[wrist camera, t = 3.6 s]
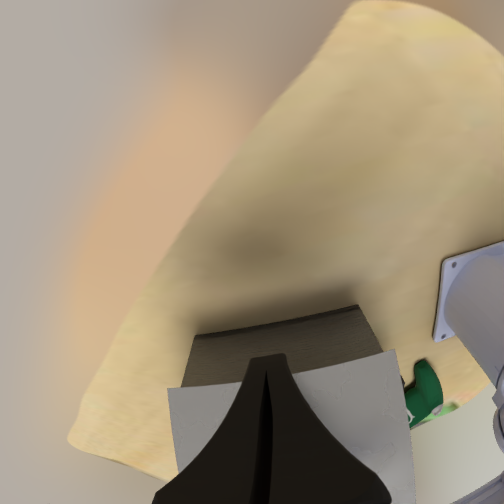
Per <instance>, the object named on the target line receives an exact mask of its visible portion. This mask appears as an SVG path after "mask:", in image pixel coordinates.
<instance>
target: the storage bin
mask: <svg viewBox="0 0 504 504" xmlns="http://www.w3.org/2000/svg"><path fill="white" fill-rule="evenodd" d="M279 353H284V354H286V358H287V363H288V366H289V369H290V371H291V374H295V373H300V372H305V371H310V370H315V369H320V368H324V367H329V366H333V365H337V364H342V363H346V362H350V361H354V360H357V359H361V358H365V357H369V356H372V355H376V354H379V353H383V350H382V348H381V346H380V344H379V342H378V340H377V339H376V337H375V335H374V333H373V331H372V329H371V327H370V325H369V323H368V322H367V320H366V318H365V316H364V314H363V312H362V311H361V309H360V307H359V305H354V306H350V307H346V308H341V309H337V310H333V311H328V312H324V313H319V314H315V315H310V316H305V317H301V318H296V319H291V320H286V321H281V322H275V323H270V324H265V325H259V326H253V327H248V328H242V329H236V330H229V331H223V332H216V333H210V334H203V335H195V337H194V340H193V344H192V348H191V351H190V355H189V359H188V362H187V366H186V370H185V374H184V377H183V381H182V385H181V388H183V387H197V386H209V385H219V384H229V383H237V382H242V381H243V378H244V376H245V373H246V370H247V367H248V364H249V360H250V359H251V358H255V357H261V356H267V355H273V354H279ZM400 376H401V375H400ZM401 381H402V386H403V389H404V384H405V382H404V380H403V378H402V376H401Z"/></svg>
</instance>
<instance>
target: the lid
mask: <svg viewBox="0 0 504 504" xmlns="http://www.w3.org/2000/svg"><path fill="white" fill-rule="evenodd" d="M292 376H293V378H294V380H295V382H296V384H297V386H298V388H299V389H300V391H301V393H302V395H303V396H304V398H305V400H306V401H307V403H308V404H309V406H310V407H311V409H312V410H313V411H314V413H315V414H316V416H317V417H318V418H319V419H320V421H321V422H322V423H323V424H324V426H325V427H326V428H327V429H328V430H329V431H330V433H331V434H332V435H333V436H334V437H335V438H336V439H337V440H338V441H339V442H340V443H341V444H342V445H343V446H344V447H345V448H346V449H347V450H348V451H349V452H350V453H351V454H353V455H354V456H355V457H356V458H357V459H358V460H359V461H361V462H362V463H363V464H364V465H366V466H367V467H368V468H370V469H371V470H372V471H374V472H375V473H376V474H377V475H378V476H379V478H380V479H381V480H382V482H383V483H384V484H385V486H386V487H387V489H388V491H389V493H390V495H391V497H392V503H391V504H416V497H415V496H416V494H415V476H414V464H413V453H412V445H411V436H410V428H409V421H408V415H407V408H406V402H405V397H404V391H403V386H402V381H401V376H400V371H399V366H398V361H397V357H396V353H395V349H392V350H389V351H386V352H383V353H379V354H376V355H372V356H369V357H365V358H361V359H357V360H354V361H350V362H346V363H342V364H337V365H333V366H329V367H324V368H320V369H315V370H310V371H305V372H300V373H295V374H292ZM241 383H242V382H237V383H229V384H219V385H209V386H197V387H183V388H167V390H168V400H169V409H170V418H171V426H172V434H173V441H174V448H175V454H176V460H177V466H178V472H179V473H180V472H181V471H182V470H183V469H184V468H185V467H186V466H187V465H188V464H189V463H190V462H191V461H192V460H193V459H194V458H195V457H196V456H197V455H198V454H199V453H200V452H201V450H202V449H203V448H204V447H205V445H206V444H207V443H208V441H209V440H210V439H211V438H212V436H213V435H214V433H215V432H216V430H217V429H218V427H219V426H220V424H221V423H222V421H223V419H224V418H225V416H226V414H227V412H228V410H229V409H230V407H231V405H232V403H233V401H234V399H235V397H236V395H237V392H238V390H239V388H240V386H241Z"/></svg>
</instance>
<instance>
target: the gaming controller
mask: <svg viewBox="0 0 504 504" xmlns="http://www.w3.org/2000/svg"><path fill="white" fill-rule="evenodd" d="M414 372H415V379H416V386H415V387H413V388H411V389H409V390H408V391H407V392H406V393H405V394H404V397H405V402H406V408H407V415H408V421H409V428H411V427H412V426H414V425H416V424H417V423H418V422H420V421H421V420H423V419H424V418H425V417H427V416H428V415H429V414H430V413H431V412H432V413H433V414H434V415H435V416H436V415H438V414H439V413H440V412H441V410H442V408H443V392H442V388H441V384H440V381H439V379H438V377H437V375H436V373H435V372H434V370H433V369H432V368H431V366H430V365H429V364H428V363H427V362H426V361H424V360H423V361H420V362H419V363H418V364H417V365H416V366H414Z"/></svg>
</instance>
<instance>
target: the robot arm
mask: <svg viewBox="0 0 504 504" xmlns="http://www.w3.org/2000/svg"><path fill="white" fill-rule="evenodd" d="M453 262H454V264H453V265H452V263H453ZM455 335H456V336H457V337H458V338H459V339H460V341H461V342H462V343H463V344H464V346H465V347H466V348H467V349H468V351H469V352H470V353H471V355H472V356H473V357H474V359H475V360H476V361H477V363H478V364H479V365H480V367H481V368H482V369H483V371H484V372H485V373H486V375H487V376H488V378H489V379H490V380H491V382H492V383H493V385H494V386H495V388H496V389H497V390H496V393H495V394H494V396H493V397H492V399H493V401H494V403H495V404H496V406H497V410H496V411H495V414H494V419H493V429H494V434H495V438H496V440H497V443H498V445H499V447H500V449H501V450H502V452H503V453H504V241H502V242H499V243H496V244H493V245H490V246H487V247H483V248H480V249H477V250H474V251H471V252H467V253H464V254H461V255H457V256H454V257H450V258H447V259H445V260H444V262H443V263H442V272H441V283H440V293H439V301H438V309H437V316H436V322H435V328H434V334H433V340H434V341H435V342H440V341H442V340H445V339H447V338H450V337H452V336H455ZM391 503H392V497H391V495H390V493H389V491H388V489H387V487H386V486H385V484H384V483H383V482H382V480H381V479H380V478H379V476H378V475H377V474H376V473H375V472H374V471H372V470H371V469H370V468H368V467H367V466H366V465H364V464H363V463H362V462H361V461H359V460H358V459H357V458H356V457H355V456H354V455H353V454H351V453H350V452H349V451H348V450H347V449H346V448H345V447H344V446H343V445H342V444H341V443H340V442H339V441H338V440H337V439H336V438H335V437H334V436H333V435H332V434H331V433H330V431H329V430H328V429H327V428H326V427H325V426H324V424H323V423H322V422H321V421H320V419H319V418H318V417H317V416H316V414H315V413H314V411H313V410H312V409H311V407H310V406H309V404H308V403H307V401H306V400H305V398H304V396H303V395H302V393H301V391H300V389H299V388H298V386H297V384H296V382H295V380H294V378H293V376H292V374H291V371H290V369H289V366H288V363H287V358H286V354H284V353H279V354H273V355H267V356H261V357H255V358H251V359H250V360H249V364H248V367H247V370H246V373H245V376H244V378H243V381H242V383H241V386H240V388H239V390H238V392H237V395H236V397H235V399H234V401H233V403H232V405H231V407H230V409H229V410H228V412H227V414H226V416H225V418H224V419H223V421H222V423H221V424H220V426H219V427H218V429H217V430H216V432H215V433H214V435H213V436H212V438H211V439H210V440H209V441H208V443H207V444H206V445H205V447H204V448H203V449H202V450H201V452H200V453H199V454H198V455H197V456H196V457H195V458H194V459H193V460H192V461H191V462H190V463H189V464H188V465H187V466H186V467H185V468H184V469H183V470H182V471H181V472H180V473H179V474H178V475H177V476H176V477H175V478H174V479H172V480H171V481H170V482H169V483H168V484H166V485H165V486H164V487H163V488H161V489H160V490H159V491H157V492H156V493H155V496H154V499H153V501H152V504H391ZM451 504H504V471H503V472H502V473H501V474H500V475H499V476H497V477H496V478H495V479H493V480H491V481H490V482H488V483H487V484H485V485H483V486H482V487H480V488H478V489H477V490H475V491H473V492H472V493H470V494H468V495H466V496H464V497H463V498H461V499H459V500H457V501H455V502H453V503H451Z"/></svg>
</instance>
